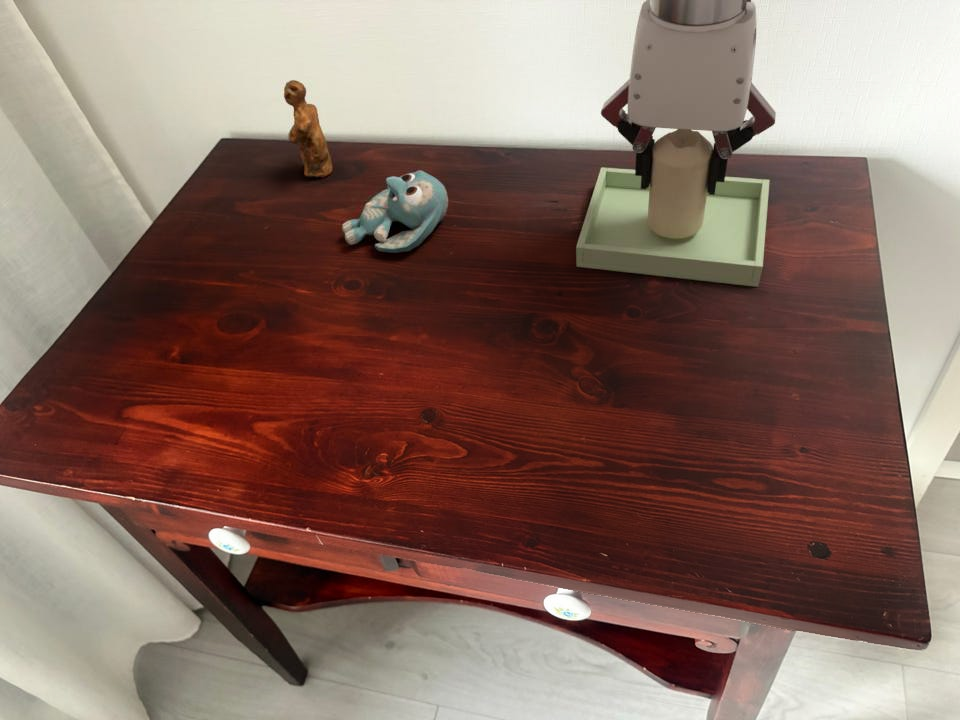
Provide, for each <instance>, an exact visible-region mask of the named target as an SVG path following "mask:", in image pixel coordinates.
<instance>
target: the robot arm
mask: <svg viewBox="0 0 960 720" xmlns="http://www.w3.org/2000/svg"><path fill="white" fill-rule="evenodd" d="M756 45H757V6H756V3H755V2H754V0H645V1H644V2H643V3H642V4H641V8H640V11H639V14H638V20H637V25H636V29H635V35H634V42H633V48H632V55H631V62H630V72H629V79H628V80H627V81H626V82H625V83H623V85H621V86H620V87H619V88H618V89H617V90H616V91H615V92H614V93H613V94H612V95H611V96H610V97H609V98H608V99H606V101H604V102H603V104H602V107H601V111H600V115H601V117H602V118H603V119H604V120H606V121H607V122H608V123H609V124H611V126H613V127H615V128H617V132H618V134H620V135H621V136H622V137H623V138H624V139H625V140H626V141H627V142H628V143H629V144H630V145H631V146H632V150H633V152H635V169H634V170H635V176H641V189H646V188H649V184H650V173H651V158H652V148H653V145H654V143H655V142H656V139H655V138H654V136H653V135H654V132H655V131H656V129H657V128H658V129H670V130H671V129H673V130H678V129H687V130H692V131H704V132H705V131H709V132H711V134H712V137H713V140H714V143H713V154H712V160H711V167H710V175H709V182H708V189H707V193H709V194H711V195H715V188H716V182H724V180H725V177H726V173H727V167H728V161H729V159H730V158H731V157H732V155H733V153H734V152H735V151H737V150H738V149H740V148H741V147H742V146H744V145H746V144H747V143H749V142H750V141H752V139H753V138H754V137H755V136H757V135H760V134H761V133H763V132H765V131H766V130H768V129H770V128H772V127H773V126H774V125H775V124H776V118H777V117H776V115H777V113H776V111H775V109H774V108H773V107H772V106H771V104H770V103H769V102H768V101H767V100H766V97H764V96H763V95H762V94H761V92H760V90H759V89H758V88H757V87H756V86H755V85H754V83H753V80H752V79H753V72H754V64H755V55H756ZM626 105H627V113H626V110H624V109H623V108H625V107H626ZM747 110H748V112H749V113H750V114H751V115H752V116H751V117H750V118H749V119H746V120H745V117H746V114H747Z"/></svg>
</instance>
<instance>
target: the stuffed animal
mask: <svg viewBox="0 0 960 720" xmlns="http://www.w3.org/2000/svg"><path fill="white" fill-rule="evenodd" d="M385 183H386V185H387V188H386V189H383V190H382V191H381V192H379V193H377V194H376V195H374V197H372V198H371V199H370V200H369V201H368V202H366V203H365V205H364V208H363V209H362V212H361V214H360V217H359V218H354V219H353V218H352V219H350V220H347V221H345V222H343V224H342V225H341V226H342V227H341V230H342V232H343V234H344V239H345V241H346V243H347V244H348V245H350V246H352V245H356V244H358V243H359V242H361V241H362V240H363V239H364V238H365V236H367V235H369V236H374V239H376V241H378V242H377V243H375V244H374V248H375V249H376V250H377V251H379V252H381V253H382V252H383V253H391V254H392V253H394V254H396V253H404V252H405V253H406V252H411V251H412V250H413V249H415V248H417V247H420V245H421V244H422V243H423V242H424V241H425V240H426V239H427V237H428V236H429V235H431V233H432V232H433V231H434V230H435V228H436V227H437V225H438V224H439V223H440V222H441V221H442V220H444V218H445V216H446V214H447V211H448V207H449V197H448V192H447V189H446V187H445V185H444V184H443V183H442V182H441V181H439V179H437V178H436V177H434V176H432V175H431V174H429V173H427V172H425V171H423V170H422V169H421V170H416V171H415V172H414V171H413V172H409V173H406V174H403V175H401V176H395V175H392V176H388V177H386V178H385ZM393 222H399V223H401V224H403V225H404V226H406V227H408V228H409V229H410V230H409V229H408V230H402V231H400V232H398V233H396V234H394V235H392V236H390V237H388V236H389V233H390V228H391V226H392V224H393Z"/></svg>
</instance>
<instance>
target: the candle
mask: <svg viewBox="0 0 960 720" xmlns="http://www.w3.org/2000/svg"><path fill="white" fill-rule="evenodd" d="M713 148H714V146H713V145H712V143H711V142H710V141H709V140H708V139H707V138H706V137H705V136H704V135H702V134H701V132H699V130H687V129H675V130H674V131H672V132H668V133H666V134H664V135H663V136H661V137H660V138H658V139H657V140H655V143H654V145H653V148H652V158H651V173H650V188H649V202H648V225H649V227H650V229H651V230H652V231H653V232H655V233H656V234H658V235H660V236H662V237H666V238H672V239H679V238H686V237H689V236H692V235H694V234H695V233H697V232H698V231H699V230H700V228H701V226H702V224H703V219H704V213H705V206H706V199H707V189H708V182H709V175H710V167H711V160H712V154H713Z"/></svg>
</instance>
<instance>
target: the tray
mask: <svg viewBox="0 0 960 720" xmlns="http://www.w3.org/2000/svg"><path fill="white" fill-rule="evenodd" d="M770 181H771V180H770V179H765V178H764V179H762V178H760V179H759V178H750V177H737V176H736V177H735V176H725V180H724V182H716V188H715V195H711V194H709V193H707V199H706V206H705V213H704V219H703V224H702V226H701V228H700V230H699V231H698V232H697V233H695V234H694V235H692V236H689V237H686V238H679V239H672V238H666V237H662V236H660V235H658V234H656V233H655V232H653V231H652V230H651V229H650V227H649V225H648V202H649V188H650V184H649V188H646V189H641V176H635V169H629V168H616V167H600V170H599V173H598V177H597V180H596V182H595V186H594V189H593V192H592V196H591V198H590V200H589V201H590V202H589V205H588V208H587V211H586V215H585V217H584V221H583V224H582V226H581V231H580V234H579V237H578V240H577V243H576V247H575V255H576V256H575V257H576V259H575V260H576V261H575V262H576V267H578V268H585V269H594V270H604V271H612V272H621V273H630V274H640V275H646V276H647V275H649V276H656V277H657V276H658V277H666V278H677V279H684V280H693V281H702V282H711V283H719V284H729V285H738V286H747V287H756V288H758V287H759V286H760V281H761V276H762V272H763V267H764V257H765V256H764V254H765V243H766V231H767V218H768V217H767V216H768V205H769V193H770Z"/></svg>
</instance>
